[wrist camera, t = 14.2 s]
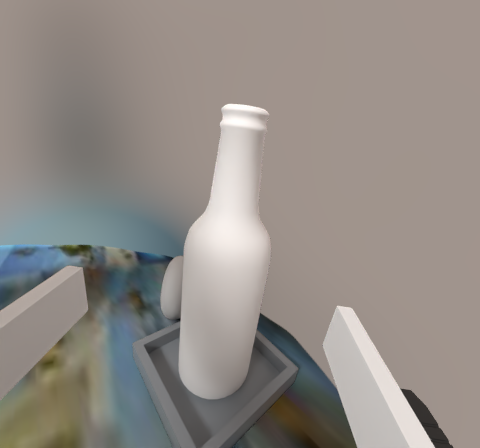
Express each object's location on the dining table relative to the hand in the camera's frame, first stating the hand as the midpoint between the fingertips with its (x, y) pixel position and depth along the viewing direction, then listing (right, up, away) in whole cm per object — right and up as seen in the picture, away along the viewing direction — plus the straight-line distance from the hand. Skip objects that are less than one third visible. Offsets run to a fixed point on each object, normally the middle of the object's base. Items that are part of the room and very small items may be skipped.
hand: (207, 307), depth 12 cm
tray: (-2, -15, +17) cm, 23 cm away
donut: (-9, -11, +26) cm, 29 cm away
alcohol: (-2, -14, +17) cm, 22 cm away
